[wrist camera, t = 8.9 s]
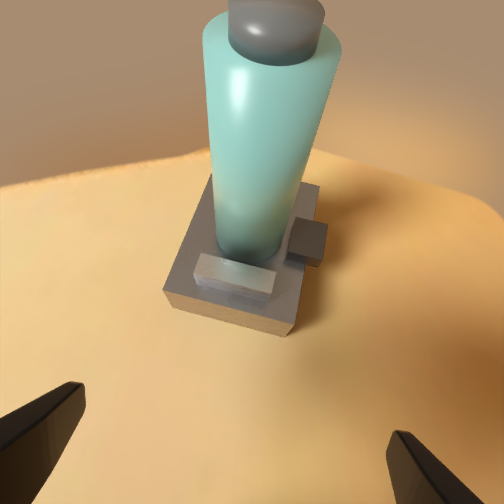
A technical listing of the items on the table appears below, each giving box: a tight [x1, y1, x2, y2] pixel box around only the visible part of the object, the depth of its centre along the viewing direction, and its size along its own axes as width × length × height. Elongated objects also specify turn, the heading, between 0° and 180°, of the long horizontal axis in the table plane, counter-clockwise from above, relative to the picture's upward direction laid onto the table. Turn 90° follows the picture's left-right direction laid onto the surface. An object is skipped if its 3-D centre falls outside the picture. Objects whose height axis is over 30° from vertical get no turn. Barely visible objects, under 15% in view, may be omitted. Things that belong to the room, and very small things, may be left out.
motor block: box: [163, 173, 328, 337], centre depth 23 cm, size 12×10×6 cm
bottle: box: [203, 0, 342, 262], centre depth 16 cm, size 5×5×14 cm
